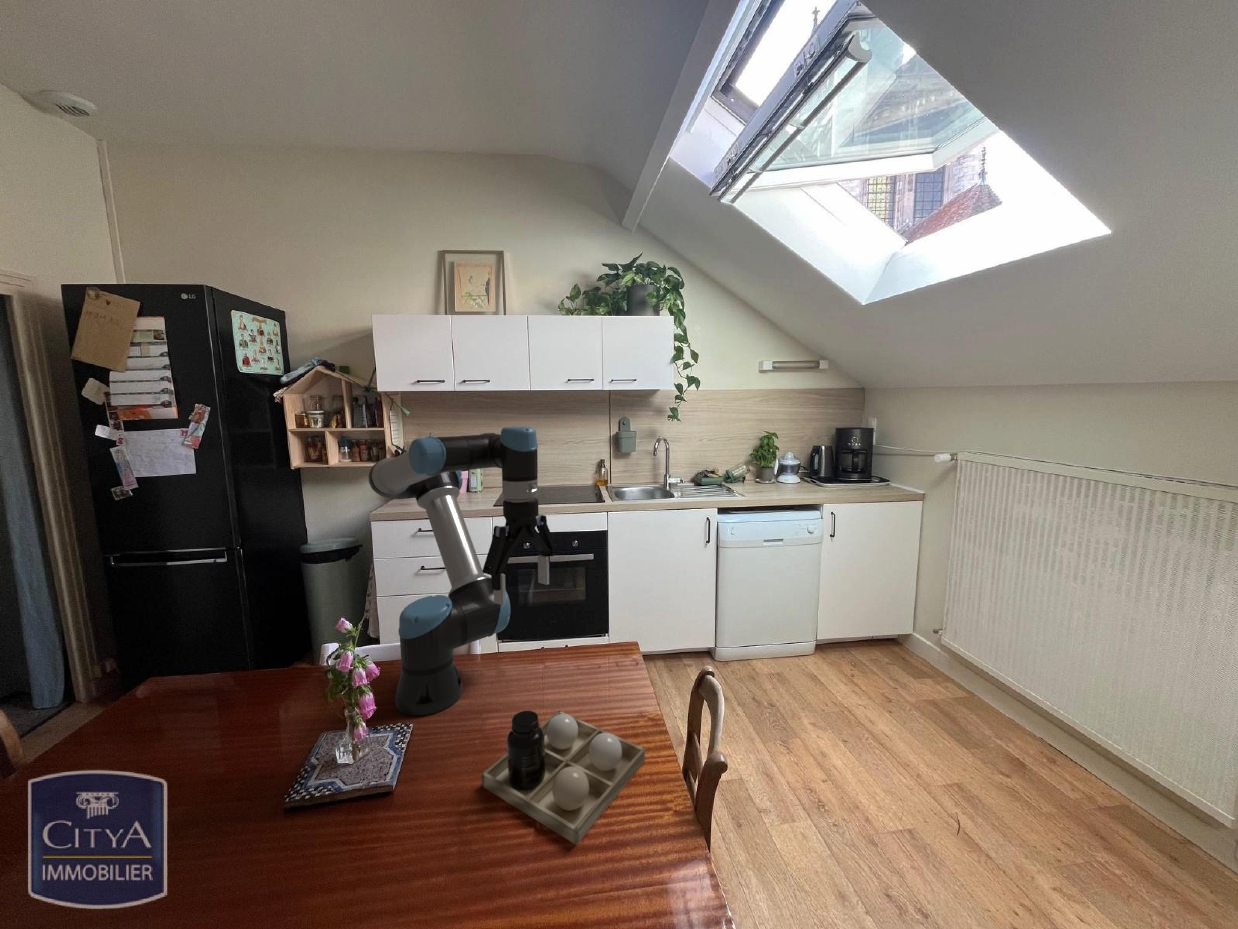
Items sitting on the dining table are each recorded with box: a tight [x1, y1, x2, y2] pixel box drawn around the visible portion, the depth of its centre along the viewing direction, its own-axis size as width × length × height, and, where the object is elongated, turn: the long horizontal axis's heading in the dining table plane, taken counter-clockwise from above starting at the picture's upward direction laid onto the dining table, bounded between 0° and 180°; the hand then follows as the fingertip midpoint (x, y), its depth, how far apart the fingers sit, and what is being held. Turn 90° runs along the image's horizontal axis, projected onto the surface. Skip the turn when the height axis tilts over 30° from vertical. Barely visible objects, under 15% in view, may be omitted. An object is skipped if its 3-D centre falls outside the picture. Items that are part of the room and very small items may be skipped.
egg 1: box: [547, 713, 578, 750], centre depth 99 cm, size 6×6×6 cm
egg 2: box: [552, 767, 589, 811], centre depth 85 cm, size 6×6×6 cm
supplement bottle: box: [506, 710, 545, 791], centre depth 90 cm, size 7×7×12 cm
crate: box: [481, 710, 646, 846], centre depth 92 cm, size 22×22×4 cm
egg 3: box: [589, 732, 622, 771], centre depth 94 cm, size 6×6×6 cm
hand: (523, 593), depth 108 cm, fingers open, 13 cm apart
